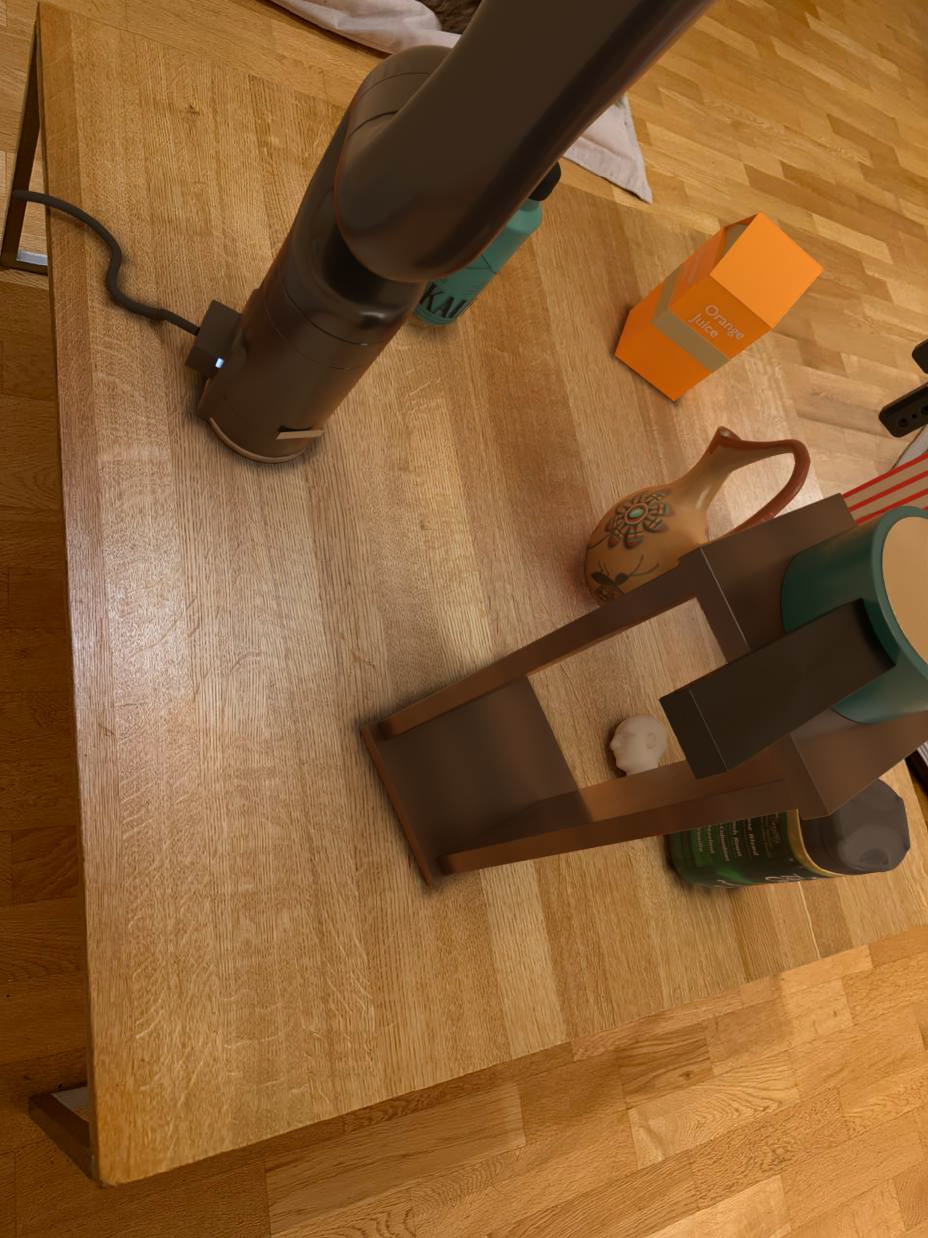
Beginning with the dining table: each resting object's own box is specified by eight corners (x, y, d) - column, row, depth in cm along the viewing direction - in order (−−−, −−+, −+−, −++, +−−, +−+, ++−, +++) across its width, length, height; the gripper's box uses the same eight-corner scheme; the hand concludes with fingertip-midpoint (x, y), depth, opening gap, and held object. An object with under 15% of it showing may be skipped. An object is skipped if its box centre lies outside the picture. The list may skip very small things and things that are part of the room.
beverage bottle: (416, 266, 90) (532, 110, 74) (464, 317, 91) (589, 175, 75) (378, 297, 87) (492, 140, 70) (429, 350, 88) (553, 208, 72)
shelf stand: (428, 886, 70) (829, 816, 41) (359, 727, 72) (699, 546, 42) (575, 802, 80) (990, 694, 50) (512, 663, 81) (879, 476, 51)
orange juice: (629, 309, 105) (765, 186, 89) (687, 356, 108) (829, 245, 91) (613, 355, 101) (752, 236, 85) (674, 402, 104) (820, 295, 88)
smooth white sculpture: (607, 716, 86) (658, 732, 87) (594, 798, 82) (648, 814, 83) (624, 698, 82) (678, 715, 83) (612, 784, 78) (669, 800, 79)
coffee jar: (667, 888, 82) (843, 868, 67) (660, 797, 85) (827, 758, 70) (747, 893, 86) (929, 875, 71) (738, 807, 89) (911, 771, 74)
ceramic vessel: (627, 670, 88) (850, 577, 67) (549, 633, 84) (759, 523, 64) (646, 526, 95) (852, 403, 75) (575, 486, 92) (770, 347, 72)
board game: (715, 555, 99) (950, 434, 77) (756, 562, 102) (994, 448, 80) (749, 747, 93) (1017, 674, 71) (792, 748, 96) (1062, 679, 74)
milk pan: (679, 863, 36) (782, 848, 32) (579, 647, 36) (667, 605, 32) (933, 687, 48) (1032, 660, 43) (853, 528, 48) (943, 486, 44)
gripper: (1146, 141, 54) (896, 304, 67) (1116, 239, 46) (838, 403, 59) (1218, 242, 55) (959, 383, 68) (1201, 356, 47) (910, 491, 60)
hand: (903, 392), depth 63 cm, fingers open, 8 cm apart
